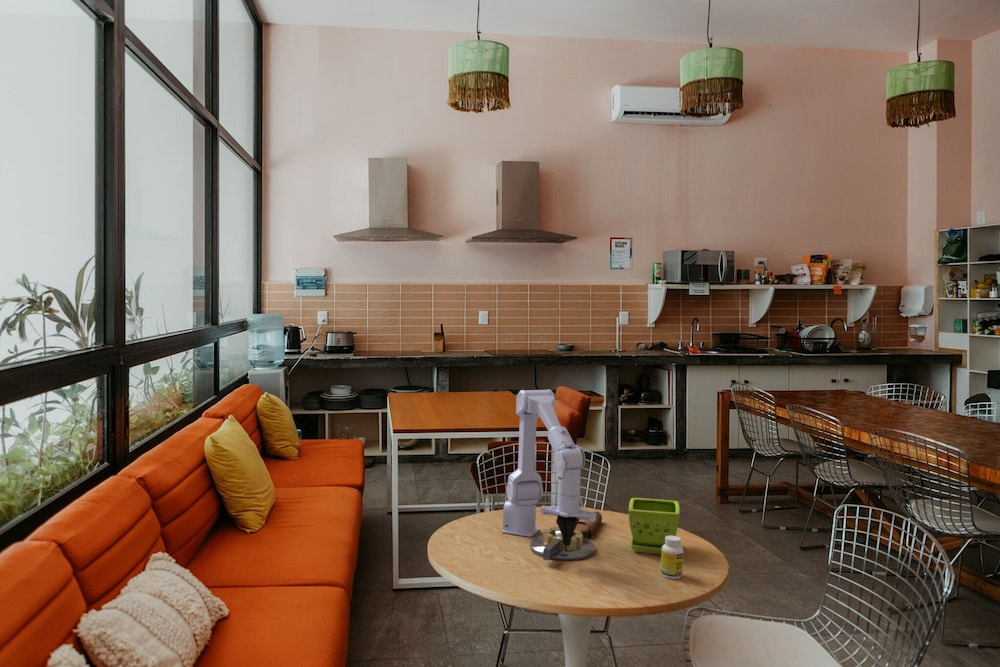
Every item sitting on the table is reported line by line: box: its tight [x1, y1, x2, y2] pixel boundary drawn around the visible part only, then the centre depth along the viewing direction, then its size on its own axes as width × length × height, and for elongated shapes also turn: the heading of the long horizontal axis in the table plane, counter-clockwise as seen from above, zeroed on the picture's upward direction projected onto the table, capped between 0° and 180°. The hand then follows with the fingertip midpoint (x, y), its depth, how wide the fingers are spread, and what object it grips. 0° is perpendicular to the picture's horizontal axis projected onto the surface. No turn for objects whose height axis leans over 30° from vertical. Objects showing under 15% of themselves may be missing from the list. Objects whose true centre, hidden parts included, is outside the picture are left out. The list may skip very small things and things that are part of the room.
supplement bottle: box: [660, 535, 684, 580], centre depth 186 cm, size 5×5×10 cm
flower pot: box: [628, 497, 681, 555], centre depth 205 cm, size 14×14×13 cm
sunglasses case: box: [575, 511, 603, 540], centre depth 221 cm, size 18×7×7 cm
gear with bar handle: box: [542, 526, 583, 562], centre depth 199 cm, size 11×20×3 cm, turn 158°
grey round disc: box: [529, 528, 596, 562], centre depth 203 cm, size 18×18×5 cm
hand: (567, 544), depth 191 cm, fingers closed
